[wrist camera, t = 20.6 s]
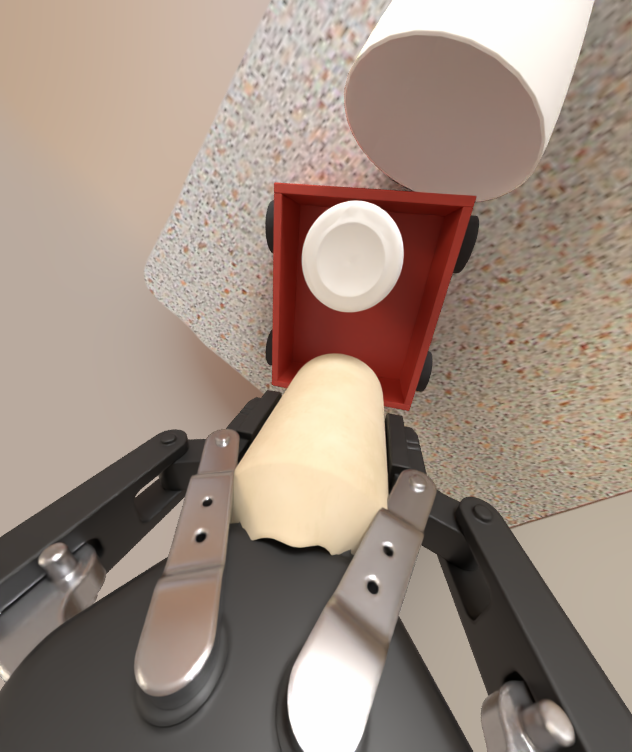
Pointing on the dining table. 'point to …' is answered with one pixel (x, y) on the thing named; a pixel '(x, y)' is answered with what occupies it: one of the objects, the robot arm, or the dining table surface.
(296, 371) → the cart
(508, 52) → the rocket engine
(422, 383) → the cart wheels
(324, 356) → the candle
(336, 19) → the dining table surface
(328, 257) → the sprinkles bottle
